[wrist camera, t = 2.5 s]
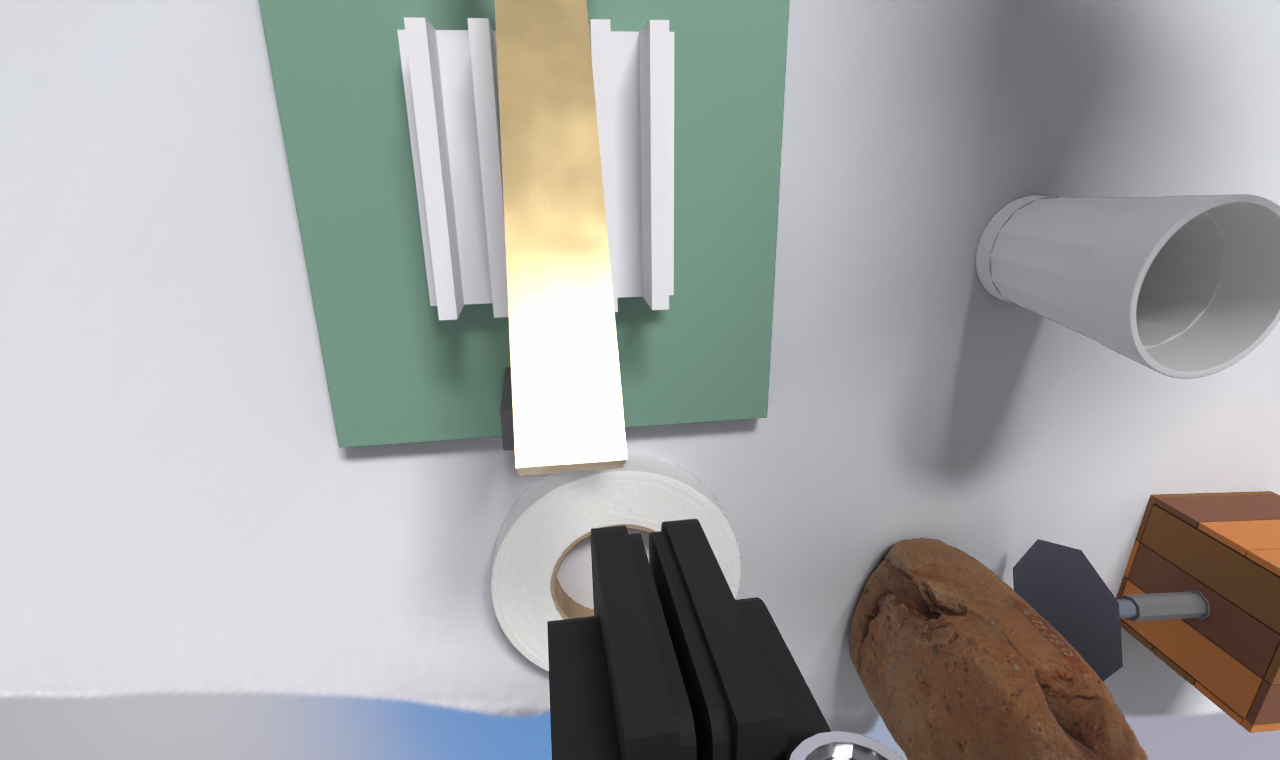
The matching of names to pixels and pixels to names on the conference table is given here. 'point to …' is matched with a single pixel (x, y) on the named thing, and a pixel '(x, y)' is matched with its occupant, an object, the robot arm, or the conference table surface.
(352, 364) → the motherboard
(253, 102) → the conference table surface
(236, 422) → the conference table surface
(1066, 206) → the cup
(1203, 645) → the clamp
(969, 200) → the conference table surface
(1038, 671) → the block
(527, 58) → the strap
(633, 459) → the roll of tape
